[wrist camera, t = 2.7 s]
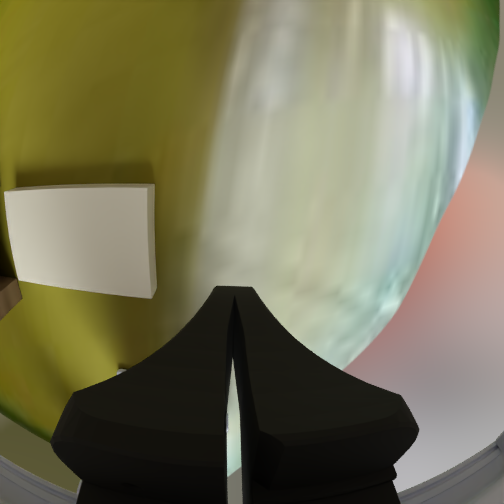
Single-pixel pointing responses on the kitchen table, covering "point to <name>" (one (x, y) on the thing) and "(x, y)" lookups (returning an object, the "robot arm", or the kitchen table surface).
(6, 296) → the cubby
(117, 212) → the tile
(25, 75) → the kitchen table surface
